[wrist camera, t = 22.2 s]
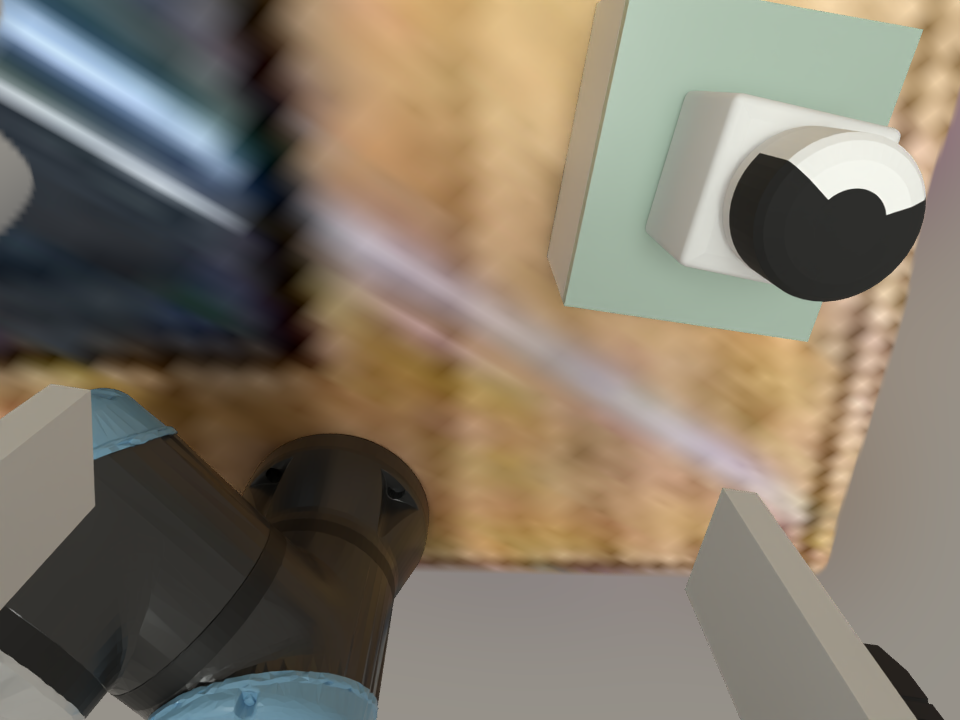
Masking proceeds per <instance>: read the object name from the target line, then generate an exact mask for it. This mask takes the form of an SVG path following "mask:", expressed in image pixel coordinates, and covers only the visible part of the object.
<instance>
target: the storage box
mask: <svg viewBox="0 0 960 720" xmlns="http://www.w3.org/2000/svg"><path fill="white" fill-rule="evenodd" d="M625 1H626V0H601V1H599V2H598V3H597V5H596V10H595V15H594V20H593V25H592V30H591V35H590V40H589V45H588V50H587V55H586V61H585V66H584V71H583V76H582V81H581V86H580V91H579V96H578V101H577V106H576V111H575V116H574V122H573V127H572V132H571V137H570V142H569V147H568V152H567V157H566V162H565V167H564V172H563V177H562V183H561V188H560V193H559V198H558V203H557V208H556V213H555V218H554V223H553V228H552V233H551V238H550V244H549V249H548V254H547V258H548V261H549V264H550V267H551V270H552V272H553V275H554V278H555V281H556V284H557V287H558V290H559V292H560V295H561V298H562V299H563V294H564V289H565V285H566V280H567V275H568V271H569V266H570V261H571V256H572V252H573V247H574V242H575V237H576V233H577V228H578V223H579V218H580V214H581V209H582V204H583V199H584V195H585V190H586V185H587V181H588V176H589V171H590V166H591V162H592V157H593V152H594V147H595V143H596V138H597V133H598V128H599V124H600V119H601V114H602V110H603V105H604V100H605V95H606V91H607V86H608V81H609V76H610V72H611V67H612V62H613V57H614V53H615V48H616V43H617V39H618V34H619V29H620V24H621V20H622V15H623V10H624V5H625Z"/></svg>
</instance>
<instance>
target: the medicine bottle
mask: <svg viewBox="0 0 960 720" xmlns="http://www.w3.org/2000/svg"><path fill="white" fill-rule="evenodd" d="M900 136H901V135H900V132H899V131H898V130H896V129H895V128H891V127H887V126H883V125H878V124H874V123H870V122H865V121H861V120H857V119H852V118H848V117H844V116H839V115H835V114H831V113H826V112H822V111H818V110H813V109H809V108H805V107H801V106H796V105H792V104H788V103H783V102H779V101H775V100H770V99H766V98H762V97H757V96H753V95H749V94H744V93H730V92H711V91H690V92H688V93H687V94H686V96H685V98H684V102H683V105H682V108H681V111H680V115H679V118H678V121H677V125H676V128H675V131H674V134H673V138H672V141H671V144H670V148H669V151H668V154H667V157H666V161H665V164H664V167H663V171H662V174H661V177H660V180H659V184H658V187H657V190H656V194H655V197H654V200H653V203H652V207H651V210H650V213H649V217H648V220H647V223H646V229H645V230H646V232H647V233H648V234H649V235H650V236H651V237H652V238H653V239H654V240H655V241H656V242H657V243H659V244H660V245H661V246H662V247H663V248H664V249H665V250H666V251H667V252H668V253H669V254H671V255H672V256H673V257H674V258H675V259H676V260H677V261H678V262H679V263H680V264H682V265H684V266H686V267H691V268H696V269H700V270H705V271H710V272H715V273H720V274H724V275H729V276H734V277H739V278H744V279H748V280H753V281H758V282H763V283H768V284H773V285H775V286H776V287H778V288H779V289H781V290H782V291H784V292H785V293H787V294H789V295H791V296H794V297H797V298H800V299H803V300H809V301H818V302H827V301H836V300H841V299H845V298H849V297H852V296H854V295H857V294H860V293H862V292H864V291H866V290H868V289H870V288H871V287H873V286H875V285H876V284H878V283H879V282H881V281H882V280H883V279H884V278H886V277H887V276H888V275H889V274H891V273H892V272H893V271H894V270H895V269H896V268H897V266H898V265H899V264H900V263H901V262H902V261H903V259H904V258H905V257H906V256H907V254H908V253H909V251H910V249H911V248H912V246H913V245H914V243H915V241H916V238H917V236H918V234H919V232H920V229H921V226H922V223H923V219H924V213H925V205H926V194H925V185H924V181H923V178H922V174H921V172H920V170H919V168H918V166H917V164H916V162H915V161H914V159H913V158H912V156H911V155H910V154H909V153H908V152H907V151H906V150H905V149H904V148H903V147H902V146H900V145H899V144H898V143H899V141H900Z"/></svg>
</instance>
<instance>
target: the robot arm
mask: <svg viewBox="0 0 960 720" xmlns="http://www.w3.org/2000/svg"><path fill="white" fill-rule="evenodd" d="M176 434H177V431H176V430H175V429H174V428H173V427H171V426H166V425H164V424H163V423H162V422H161V421H159V420H158V419H157V418H156V417H154V416H153V415H152V414H151V413H149V412H148V411H147V410H146V409H144V408H143V407H142V406H141V405H140V404H139V403H137V402H136V401H135V400H134V399H133V398H131V397H130V396H129V395H127V394H125V393H123V392H121V391H118V390H115V389H109V388H98V389H92V390H87V389H81V388H74V387H68V386H61V385H55V384H50V385H49V386H47V387H46V388H44V389H43V390H41V391H40V392H38V393H37V394H36V395H34V396H33V397H31V398H30V399H28V400H27V401H26V402H24V403H23V404H21V405H20V406H18V407H17V408H16V409H14V410H13V411H11V412H10V413H8V414H7V415H5V416H4V417H3V418H1V419H0V720H84V719H85V718H86V717H87V716H88V714H89V713H90V712H91V711H92V710H93V709H94V707H95V706H96V705H97V704H98V702H99V701H100V700H101V699H102V698H103V696H104V695H105V694H106V693H107V692H109V693H110V694H111V695H113V696H115V697H116V698H117V699H119V700H120V701H121V702H123V703H124V704H125V705H127V706H128V707H129V708H131V709H132V710H133V711H134V712H136V713H138V714H139V715H140V716H141V717H143V718H144V719H145V720H376V718H377V710H378V708H377V706H378V700H379V693H380V686H381V680H382V673H383V667H384V661H385V654H386V648H387V641H388V634H389V628H390V621H391V615H392V607H393V602H394V598H395V597H396V595H397V594H398V593H399V591H400V590H401V588H402V586H403V585H404V584H405V582H406V581H407V579H408V578H409V577H410V575H411V574H412V572H413V571H414V569H415V568H416V566H417V565H418V563H419V561H420V559H421V556H422V554H423V551H424V548H425V544H426V539H427V532H428V524H429V509H428V503H427V499H426V496H425V493H424V491H423V488H422V486H421V484H420V483H419V481H418V479H417V478H416V476H415V475H414V473H413V472H412V471H411V470H410V469H409V467H408V466H407V465H406V464H405V463H404V462H403V461H401V460H400V459H399V458H398V457H397V456H395V455H394V454H392V453H391V452H389V451H388V450H386V449H385V448H383V447H381V446H379V445H377V444H375V443H372V442H370V441H367V440H364V439H361V438H357V437H353V436H347V435H339V434H320V435H312V436H307V437H303V438H300V439H296V440H294V441H291V442H289V443H287V444H285V445H283V446H281V447H279V448H278V449H276V450H275V451H274V452H272V453H271V454H270V455H269V456H268V457H267V458H265V459H264V461H263V462H262V463H261V464H260V465H259V467H258V468H257V469H256V471H255V473H254V475H253V476H252V478H251V480H250V481H249V483H248V485H247V487H246V489H245V491H244V493H243V496H241V495H240V494H239V493H238V492H237V491H236V490H235V489H234V488H233V487H231V486H230V485H229V484H228V483H227V482H226V481H225V480H224V479H223V478H222V477H221V476H219V475H218V474H217V473H216V472H215V471H214V470H213V469H212V468H211V467H210V466H209V465H208V464H207V463H206V462H205V461H204V460H203V459H202V458H201V457H199V456H198V455H197V454H196V453H195V452H194V451H193V450H192V449H191V448H190V447H189V446H188V445H187V444H186V443H185V442H184V441H183V440H182V439H181V438H180V437H178V436H177V435H176ZM685 591H686V593H687V596H688V598H689V600H690V602H691V605H692V607H693V609H694V612H695V614H696V616H697V619H698V621H699V624H700V626H701V628H702V631H703V633H704V635H705V638H706V640H707V642H708V645H709V647H710V649H711V652H712V654H713V656H714V659H715V661H716V663H717V666H718V668H719V670H720V673H721V675H722V677H723V680H724V682H725V684H726V687H727V689H728V691H729V694H730V696H731V698H732V700H733V703H734V705H735V708H736V710H737V712H738V715H739V717H740V719H741V720H944V719H943V718H942V717H941V715H940V714H939V713H938V711H937V710H936V709H935V707H934V706H933V705H932V704H929V703H928V698H927V697H926V695H925V694H924V693H923V691H922V690H921V689H920V687H919V686H918V685H917V683H916V682H915V681H914V679H913V678H912V677H911V676H910V674H909V673H908V671H907V670H906V669H904V668H903V667H902V666H901V665H900V664H899V663H898V662H896V661H895V660H894V659H893V658H892V657H891V656H890V655H888V654H887V653H886V652H885V651H884V650H883V649H882V648H880V647H879V646H878V645H870V644H864V643H863V642H862V641H861V640H860V638H859V637H858V636H857V634H856V633H855V631H854V630H853V628H852V627H851V626H850V624H849V623H848V621H847V620H846V618H845V617H844V616H843V614H842V613H841V611H840V610H839V609H838V607H837V606H836V604H835V603H834V602H833V600H832V599H831V597H830V596H829V595H828V593H827V592H826V590H825V589H824V588H823V586H822V585H821V584H820V582H819V580H818V579H817V578H816V576H815V575H814V573H813V572H812V571H811V569H810V568H809V566H808V565H807V563H806V562H805V561H804V559H803V558H802V556H801V555H800V554H799V552H798V551H797V549H796V548H795V547H794V545H793V544H792V542H791V541H790V540H789V538H788V537H787V535H786V534H785V532H784V531H783V530H782V528H781V527H780V525H779V524H778V523H777V521H776V520H775V518H774V517H773V516H772V514H771V513H770V511H769V510H768V508H767V507H766V506H765V504H764V503H763V501H762V500H761V499H760V497H759V496H758V494H757V493H752V492H745V491H739V490H732V489H726V488H722V491H721V494H720V496H719V499H718V502H717V504H716V507H715V510H714V513H713V515H712V518H711V521H710V523H709V526H708V529H707V531H706V534H705V537H704V539H703V542H702V545H701V548H700V550H699V553H698V556H697V558H696V561H695V564H694V566H693V569H692V572H691V574H690V577H689V580H688V582H687V585H686V588H685Z"/></svg>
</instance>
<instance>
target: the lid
mask: <svg viewBox="0 0 960 720" xmlns="http://www.w3.org/2000/svg"><path fill="white" fill-rule="evenodd" d="M922 31H923V29H917V28H912V27H906V26H901V25H895V24H890V23H884V22H878V21H873V20H867V19H862V18H856V17H850V16H845V15H839V14H834V13H828V12H822V11H817V10H811V9H806V8H800V7H795V6H789V5H783V4H778V3H772V2H767V1H761V0H626V1H625V5H624V10H623V15H622V20H621V24H620V29H619V34H618V39H617V43H616V48H615V53H614V57H613V62H612V67H611V72H610V76H609V81H608V86H607V91H606V95H605V100H604V105H603V110H602V114H601V119H600V124H599V128H598V133H597V138H596V143H595V147H594V152H593V157H592V162H591V166H590V171H589V176H588V181H587V185H586V190H585V195H584V199H583V204H582V209H581V214H580V218H579V223H578V228H577V233H576V237H575V242H574V247H573V252H572V256H571V261H570V266H569V271H568V275H567V280H566V285H565V289H564V294H563V299H562V301H563V304H564V306H569V307H576V308H583V309H590V310H596V311H603V312H610V313H617V314H624V315H630V316H637V317H644V318H651V319H657V320H664V321H671V322H678V323H684V324H691V325H698V326H705V327H711V328H718V329H725V330H732V331H739V332H745V333H752V334H759V335H766V336H772V337H779V338H786V339H793V340H799V341H806V342H808V339H809V337H810V334H811V331H812V329H813V326H814V323H815V321H816V318H817V315H818V312H819V310H820V307H821V304H822V302H818V301H809V300H803V299H800V298H797V297H794V296H791V295H789V294H787V293H785V292H784V291H782V290H781V289H779V288H778V287H776V286H775V285H773V284H768V283H763V282H758V281H753V280H748V279H744V278H739V277H734V276H729V275H724V274H720V273H715V272H710V271H705V270H700V269H696V268H691V267H686V266H684V265H682V264H680V263H679V262H678V261H677V260H676V259H675V258H674V257H673V256H672V255H671V254H669V253H668V252H667V251H666V250H665V249H664V248H663V247H662V246H661V245H660V244H659V243H657V242H656V241H655V240H654V239H653V238H652V237H651V236H650V235H649V234H648V233H647V232H646V230H645V229H646V223H647V220H648V217H649V213H650V210H651V207H652V203H653V200H654V197H655V194H656V190H657V187H658V184H659V180H660V177H661V174H662V171H663V167H664V164H665V161H666V157H667V154H668V151H669V148H670V144H671V141H672V138H673V134H674V131H675V128H676V125H677V121H678V118H679V115H680V111H681V108H682V105H683V102H684V98H685V96H686V94H687V93H688V92H690V91H711V92H730V93H744V94H749V95H753V96H757V97H762V98H766V99H770V100H775V101H779V102H783V103H788V104H792V105H796V106H801V107H805V108H809V109H813V110H818V111H822V112H826V113H831V114H835V115H839V116H844V117H848V118H852V119H857V120H861V121H865V122H870V123H874V124H878V125H883V126H888V123H889V121H890V118H891V115H892V112H893V110H894V107H895V104H896V102H897V99H898V96H899V93H900V91H901V88H902V85H903V83H904V80H905V77H906V75H907V72H908V69H909V66H910V64H911V61H912V58H913V56H914V53H915V50H916V48H917V45H918V42H919V39H920V37H921V34H922Z"/></svg>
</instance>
